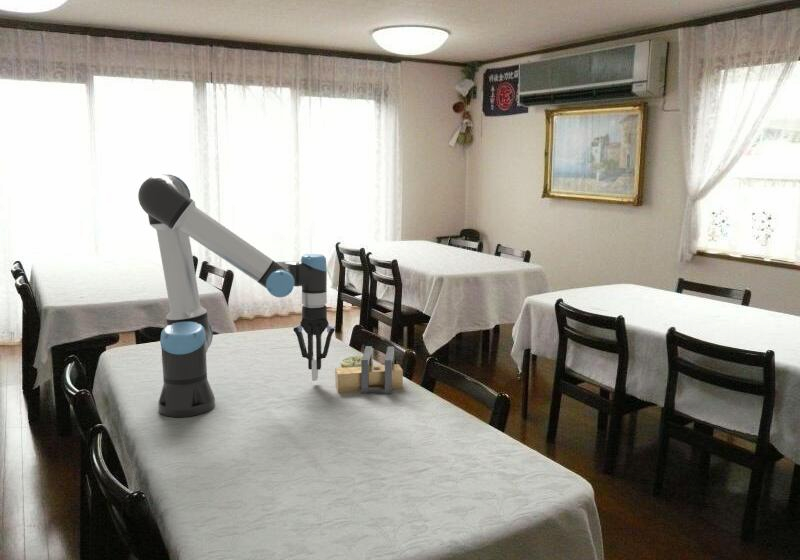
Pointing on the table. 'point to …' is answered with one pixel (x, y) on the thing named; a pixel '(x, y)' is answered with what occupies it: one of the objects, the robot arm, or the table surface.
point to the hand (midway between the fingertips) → (314, 379)
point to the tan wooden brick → (352, 378)
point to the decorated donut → (352, 361)
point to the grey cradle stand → (367, 362)
